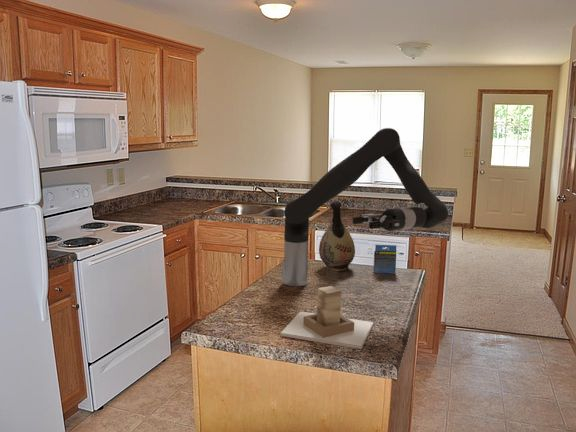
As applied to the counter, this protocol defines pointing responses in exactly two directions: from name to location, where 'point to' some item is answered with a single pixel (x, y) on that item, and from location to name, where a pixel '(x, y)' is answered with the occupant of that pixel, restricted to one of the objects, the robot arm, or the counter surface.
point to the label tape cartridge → (385, 259)
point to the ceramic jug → (336, 243)
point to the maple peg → (328, 306)
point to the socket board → (336, 339)
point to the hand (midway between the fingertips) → (361, 223)
